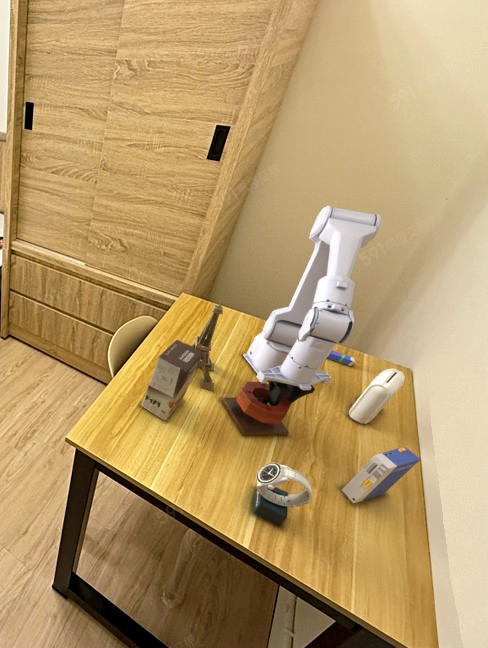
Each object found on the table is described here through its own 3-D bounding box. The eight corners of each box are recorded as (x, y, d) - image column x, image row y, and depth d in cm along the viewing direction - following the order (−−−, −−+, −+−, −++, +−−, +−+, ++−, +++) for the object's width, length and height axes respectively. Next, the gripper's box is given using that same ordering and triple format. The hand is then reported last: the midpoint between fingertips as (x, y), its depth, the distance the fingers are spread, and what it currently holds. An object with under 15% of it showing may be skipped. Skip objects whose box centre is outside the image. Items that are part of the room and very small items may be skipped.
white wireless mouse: (361, 396, 100) (390, 360, 93) (382, 408, 97) (414, 372, 90) (343, 414, 95) (373, 378, 88) (365, 427, 92) (397, 390, 85)
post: (221, 400, 98) (230, 383, 95) (261, 401, 98) (271, 384, 95) (242, 435, 90) (253, 418, 86) (286, 435, 90) (299, 418, 87)
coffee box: (165, 422, 92) (186, 372, 83) (140, 406, 96) (157, 356, 87) (182, 400, 98) (204, 351, 89) (158, 386, 102) (176, 338, 92)
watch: (244, 484, 80) (267, 451, 74) (291, 506, 77) (319, 473, 71) (241, 507, 76) (265, 474, 70) (291, 532, 73) (320, 499, 67)
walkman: (369, 481, 81) (405, 445, 75) (383, 494, 79) (422, 458, 72) (339, 490, 80) (373, 453, 73) (353, 503, 77) (389, 467, 71)
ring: (230, 390, 96) (235, 380, 94) (268, 391, 96) (274, 381, 94) (250, 422, 88) (257, 412, 86) (292, 423, 88) (299, 413, 86)
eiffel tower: (171, 352, 112) (200, 276, 98) (213, 364, 108) (249, 287, 94) (168, 377, 104) (199, 299, 90) (213, 391, 101) (252, 311, 86)
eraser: (350, 366, 109) (354, 361, 108) (324, 357, 112) (327, 352, 111) (350, 362, 110) (354, 357, 109) (324, 353, 113) (327, 348, 112)
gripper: (282, 372, 80) (255, 416, 88) (354, 373, 80) (320, 417, 88) (262, 348, 86) (238, 392, 94) (329, 349, 86) (299, 392, 94)
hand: (277, 402), depth 91 cm, fingers closed on ring, 2 cm apart
